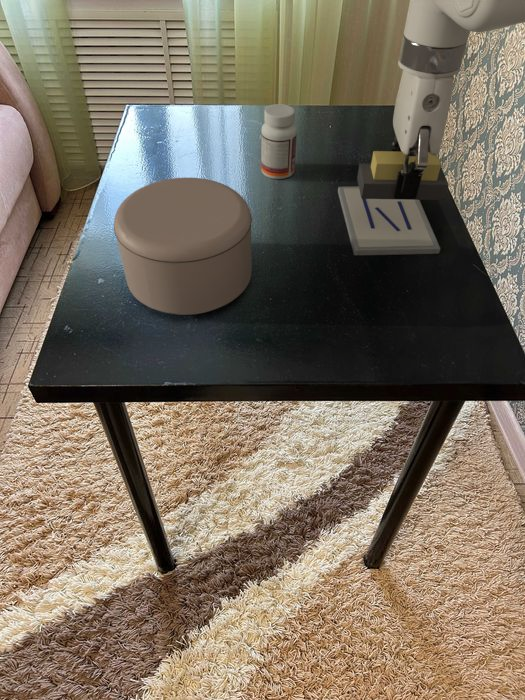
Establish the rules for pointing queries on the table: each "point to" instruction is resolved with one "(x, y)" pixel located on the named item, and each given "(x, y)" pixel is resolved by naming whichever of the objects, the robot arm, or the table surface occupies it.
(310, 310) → the table surface
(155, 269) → the container
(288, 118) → the pill bottle
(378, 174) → the eraser
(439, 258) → the table surface
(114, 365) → the table surface
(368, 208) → the whiteboard
